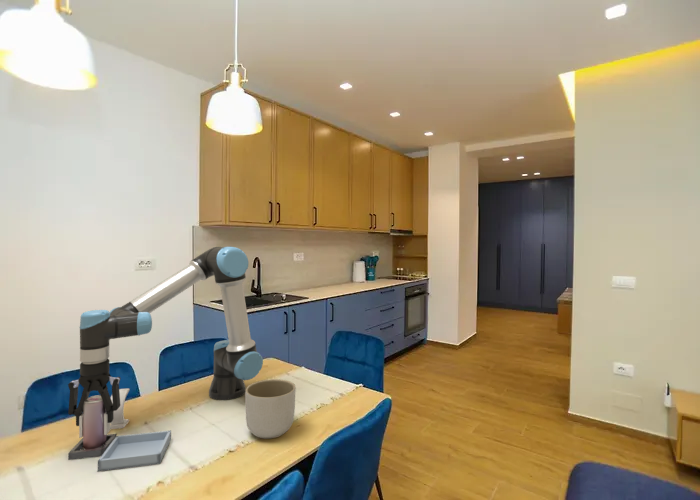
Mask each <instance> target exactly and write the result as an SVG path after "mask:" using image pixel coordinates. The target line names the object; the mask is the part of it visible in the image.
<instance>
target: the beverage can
mask: <svg viewBox="0 0 700 500" xmlns="http://www.w3.org/2000/svg"><path fill="white" fill-rule="evenodd" d="M105 413H106V409H105V406H104V403H103V400H102V398H101V395H100V394H98V395H92V396H90V397H89V396H88V398H87V400H86V401H84V404H83V437H82V438H83V448H82V449H83V450H88V449H97V448H103V446H104V445H105V444H106V443H107V442H106V435H104V414H105Z"/></svg>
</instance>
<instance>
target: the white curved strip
mask: <svg viewBox="0 0 700 500" xmlns="http://www.w3.org/2000/svg"><path fill="white" fill-rule="evenodd" d="M130 389H131V388H119V393H120V407H119V408H118V409H117V410H116V411H113V421H112V422H111V423H110V430H115V429H116V430H117V429H118V430H119V429H124V428H125V427H126V425H128V423H129V422H130V419H129V418H128V419H127V418H125V415H124V414H125V413H124V409H125V403H126V402H125V401H126V398H127V396H128V394H129V392H130ZM110 398H111V401H112V403H113V399H112V395H110Z"/></svg>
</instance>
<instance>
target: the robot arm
mask: <svg viewBox="0 0 700 500" xmlns="http://www.w3.org/2000/svg"><path fill="white" fill-rule="evenodd" d="M248 268H249V259H248V256H247V254H246V252H244V251H243V250H242V249H240V248H239V247H235V246H214V247H211V248H209V249H207V250H205V251H204V252H202V253H201V254H199V255H198V256H196V257H195V258H193V259H191V260H190V261H189V264H188V265H187V266H185V267H183V268H182V269H180V270H179V271H177V272H175V273H174V274H172V275H171V276H169V277H168V278H166V279H164V280H163V281H161V282H158V283H157V284H156V285H154V286H153V287H151V288H149V289H148V290H146V291H144V292H143V293H142V294H140V295H139V296H136V297H134V298H133V299H132V300H130V301H129V302H127V303H125V304H123V305H122V306H118V307H114V308H112V309H111V310H110V311H109V310H108V309H95V310H87V311H85V312H82V313H81V315H80V323H79V362H80V364H79V375H80V376H79V378H78V379H73V380H72V381H70V382H69V383H68V384H67V385H68V389H69V399H68V413H67V415H69V416H72V415H73V416H75V425H76V427H78V428H79V429H78V430H79V433H78V434H79V436H78V437H79V439H82V438H83V404H84V401H86V400H87V398H89V396H90V394H91V392H93V391H95V392H98V393H99V394H98V395H101V398H102V400H103V403H104V406H105V409H106V413H105V414H104V435H109V432H111V429H110V425H111V424H110V423H111V422H112V421H113V411H116V410H117V409H118V408H119V407H120V393H119V389H120V382H121V376H117V377H113V376H112V375H111V374H110V359H109V358H110V341H111V340H115V339H120V338H121V339H122V338H128V337H135V336H136V337H137V336H138V337H139V336H141V335H147V334H149V333H150V332H151V331H152V329H153V328H152V327H153V318H152V315H151V313H152V312H154V311H155V310H157V309H159V308H160V307H162V306H163V305H164V304H166V303H168V302H169V301H171V300H172V299H174V298H175V297H176V296H178V295H180V294H181V293H183V292H184V291H187V289H189V288H191V287H192V286H194V285H195V284H196V283H198V282H200V281H206V280H207V279H209V278H211V277H214V282H215V284H216V285H217V286H219V288H220V292H221V293H220V295H221V300H222V306H223V312H224V319H225V325H226V331H227V336H228V339H224V340H220V341H217V342H215V344H214V346H213V378H212V380H211V384H210V386H209V389H208V396H209V398H210V399H213V400H216V401H218V400H219V401H227V400H232V399H233V400H235V399H237V398H240V397H241V396H243V395H245V391H246V383H245V381H249V380H252V379H254V378H255V377H256V376H258V375H259V373H260V371H261V370H262V369H263V365H264V363H263V362H264V360H263V359H264V358H263V356H262V355H261V353H259V352H258V351H257V345H256V341H255V340H254V339H252V336H251V331H250V330H251V329H250V325H249V324H250V323H249V316H248V310H247V305H246V297H245V289H244V284H243V283H244V281H245V280H246V278H247V277H246V272H247V270H248ZM109 382H110V385H111V395H110V392H109V390H108V385H107V384H108V383H109ZM79 386H81V387H82V388H83V389H82V392H81V397H80V400H79V402H78V396H79ZM111 396H112V399H113V403H112V401H111Z"/></svg>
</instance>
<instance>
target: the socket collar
mask: <svg viewBox="0 0 700 500" xmlns="http://www.w3.org/2000/svg"><path fill="white" fill-rule="evenodd" d="M116 436H118V435H117V433H110V434H109V433H108V434H107V435H106V443H105V445H104V446H103V447H101V448H97V449H88V450H85V449H84V448H83V437H81V438H80V440H79V441H77V443H76V444H75V445H74V446H73V447H72V449H71V450H70V451H68V453H67V460H68V461H70V460H71V461H72V460H79V459H80V460H81V459H90V458H97V457H99V458H100V457H101V456H102V455H103V453H104V452H105V451H106V449H107V448H108V447H109V445H110V444H111V443H112V441H113V440H114V439H115V437H116Z"/></svg>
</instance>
